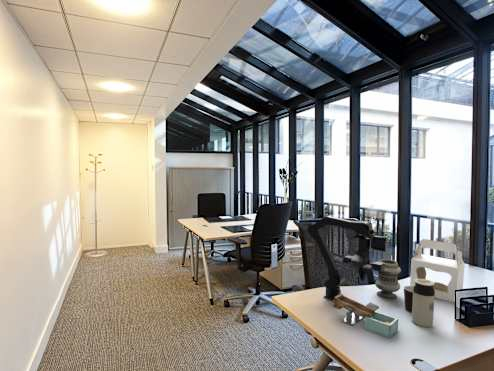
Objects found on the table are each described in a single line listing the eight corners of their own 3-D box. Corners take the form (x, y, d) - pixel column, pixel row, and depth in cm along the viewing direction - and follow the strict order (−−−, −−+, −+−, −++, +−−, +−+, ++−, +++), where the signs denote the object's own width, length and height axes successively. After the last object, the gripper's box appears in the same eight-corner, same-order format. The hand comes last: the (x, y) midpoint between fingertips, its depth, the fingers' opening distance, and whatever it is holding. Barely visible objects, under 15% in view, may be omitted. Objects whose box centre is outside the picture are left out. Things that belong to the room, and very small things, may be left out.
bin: (364, 329, 131) (365, 317, 131) (373, 322, 137) (373, 310, 137) (389, 338, 124) (390, 325, 124) (397, 330, 130) (398, 318, 130)
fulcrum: (341, 321, 137) (342, 307, 136) (353, 313, 145) (353, 299, 144) (352, 326, 133) (353, 310, 133) (364, 317, 141) (364, 303, 141)
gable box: (463, 296, 169) (466, 243, 167) (456, 303, 159) (460, 247, 158) (417, 284, 185) (419, 236, 183) (409, 290, 175) (411, 239, 174)
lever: (332, 307, 142) (334, 297, 141) (347, 298, 153) (349, 288, 152) (367, 324, 131) (369, 314, 131) (381, 313, 142) (383, 303, 141)
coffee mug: (412, 315, 145) (413, 293, 144) (398, 307, 153) (399, 286, 152) (433, 312, 148) (434, 291, 147) (418, 305, 156) (419, 284, 155)
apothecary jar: (376, 298, 163) (377, 263, 162) (372, 290, 174) (374, 257, 173) (402, 301, 160) (404, 265, 159) (397, 292, 171) (398, 259, 170)
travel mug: (407, 320, 140) (409, 279, 139) (421, 317, 143) (423, 277, 142) (423, 328, 132) (425, 285, 131) (437, 325, 135) (439, 283, 134)
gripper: (337, 247, 153) (336, 279, 154) (376, 255, 140) (375, 290, 141) (348, 243, 161) (346, 274, 162) (386, 251, 148) (384, 284, 149)
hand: (362, 280), depth 153 cm, fingers closed
